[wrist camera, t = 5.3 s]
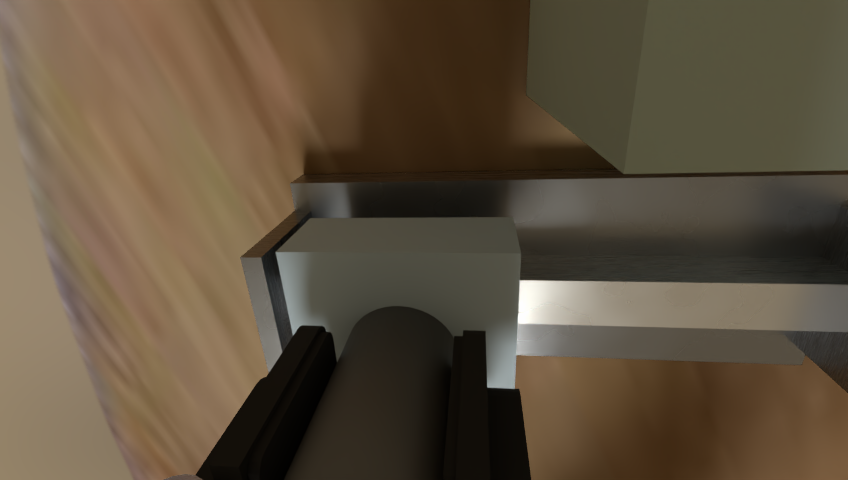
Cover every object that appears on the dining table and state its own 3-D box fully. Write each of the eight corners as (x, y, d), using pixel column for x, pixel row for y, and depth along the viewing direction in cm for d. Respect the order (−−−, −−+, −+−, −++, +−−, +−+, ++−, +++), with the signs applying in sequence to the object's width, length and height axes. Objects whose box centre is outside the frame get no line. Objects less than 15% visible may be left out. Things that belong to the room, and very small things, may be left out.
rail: (303, 174, 16) (231, 223, 11) (842, 164, 13) (1030, 221, 9) (329, 330, 18) (280, 421, 14) (779, 344, 16) (898, 457, 12)
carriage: (310, 218, 13) (57, 464, 5) (513, 217, 12) (577, 506, 4) (336, 375, 15) (191, 705, 7) (506, 382, 14) (540, 758, 7)
